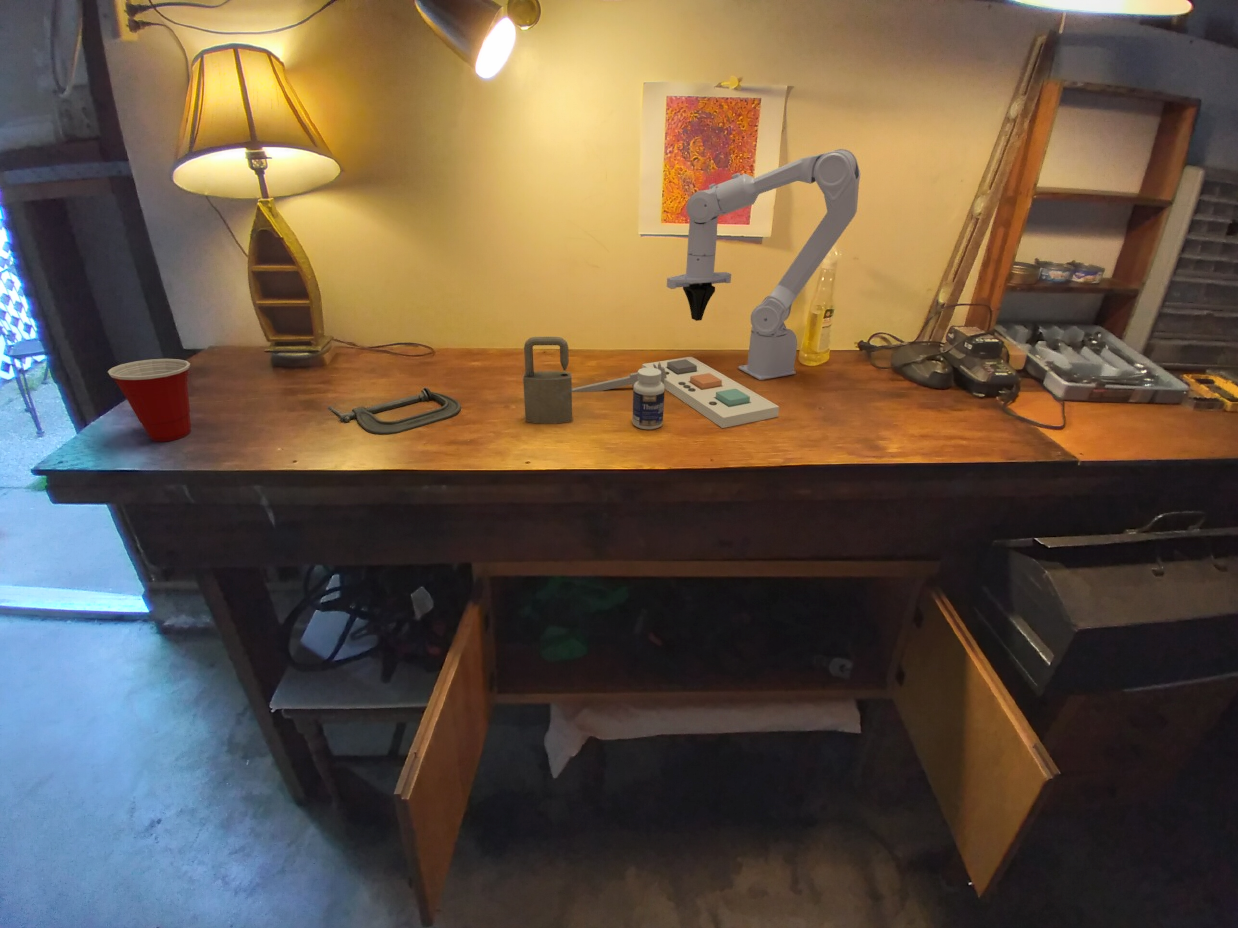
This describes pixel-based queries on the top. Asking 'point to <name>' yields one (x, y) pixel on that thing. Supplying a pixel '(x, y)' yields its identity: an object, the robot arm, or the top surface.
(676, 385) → the button panel
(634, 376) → the caliper
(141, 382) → the plastic cup
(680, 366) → the button two
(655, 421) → the pill bottle
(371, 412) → the c clamp
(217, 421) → the top surface
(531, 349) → the padlock
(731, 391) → the button one
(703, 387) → the button three
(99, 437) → the top surface
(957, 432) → the top surface
